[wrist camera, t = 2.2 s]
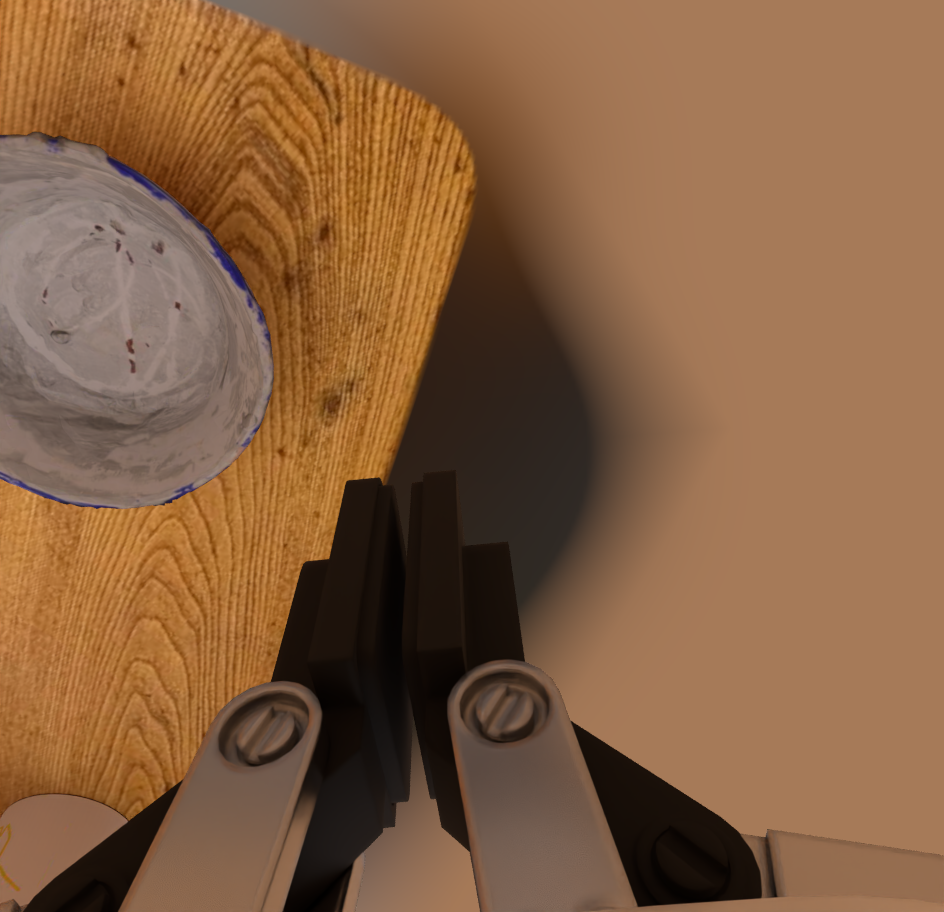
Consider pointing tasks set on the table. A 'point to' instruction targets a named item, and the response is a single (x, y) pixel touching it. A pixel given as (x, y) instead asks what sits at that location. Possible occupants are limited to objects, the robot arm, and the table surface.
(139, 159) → the table surface
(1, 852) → the pink tall cylinder
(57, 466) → the bowl
